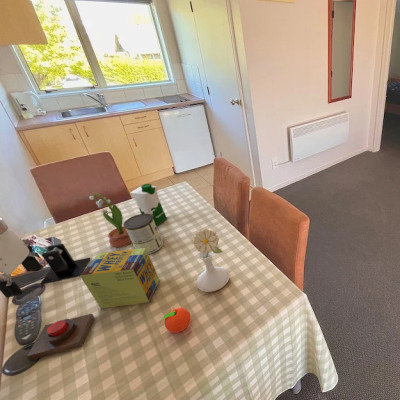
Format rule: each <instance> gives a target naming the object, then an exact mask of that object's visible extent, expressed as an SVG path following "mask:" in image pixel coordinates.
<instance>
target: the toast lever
mask: <svg viewBox="0 0 400 400" xmlns="http://www.w3.org/2000/svg"><path fill="white" fill-rule="evenodd" d="M56 250H58V251H59V253H60V254H61V252H62V251H63V250H61V249H59V248H57V247H55V248H54V249H53V250H51V251H56ZM51 251H49V252H51ZM38 262H39V263H40V265H41V266H42V267H43V265H44V264H46V263H47V262H46V260H45V259H44V258H43V259H42V260H40V261H38ZM40 270H41V269H38V270H33V271H32V272H38V271H40Z"/></svg>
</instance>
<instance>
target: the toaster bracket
mask: <svg viewBox="0 0 400 400" xmlns="http://www.w3.org/2000/svg"><path fill="white" fill-rule="evenodd" d="M55 247H57V248H59V249H61V250H63V251H62V252H61V254H60V253H59V251H58V250H56V251H51V250H53V249H54V248H55ZM47 250H48V251H45V252H42V253H41V256H42V257H43V259H45V260H46V262H45V263H47V264H48V266H49V267H50V269H51V270H50V269H49V271H48V272H47V273H46V274H45V276H44V277H43V279H42V281H41V282H40V285H45V284H49V283H54V282H59V281H63V280H69V279H72V278H77V277H80V275H81V274H82V272H83V271H84V270H85V269H86V268H87V267H88V265H89V263H90V261H91V257H86V258H80V259H76V260H74V258H73V256H72V255H71V253H70V252H69V251H68V249H67V247H66V246H65V245H64V243H58V244H52V245H48V246H47ZM50 251H51V252H50Z"/></svg>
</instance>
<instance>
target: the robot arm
mask: <svg viewBox="0 0 400 400" xmlns="http://www.w3.org/2000/svg"><path fill="white" fill-rule="evenodd" d="M39 262H40V261H38V259H37V257H36V254H35V252H33V246H32V245H31V242H30V239H29V238H25V239H22V238H21V237H19V235H18V234H17V232H15V231H14V230H13V229H12V228H10V227H9V226H8V225H7V224H6V222H5V221H4V219H3V218H2V217H1V216H0V278H4V279H3V280H4V281H3V280H0V292H1V293H2V294H3V295H4V296H5V298H12V297H17V296H20V295H23V293H24V292H23V290H22V289H21V287H20V286H19V285H18V284H17V283H16V282H15V281H13V282H12V274H13V273H14V272H15V271H16V270H17V269H18V268H19V266H20V265H22V266H23V267H24V269H25V270H26V272H34V271H33V270H38V269H40V270H41V269H43V265H42V266H41V265H40V263H39Z"/></svg>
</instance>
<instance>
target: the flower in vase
mask: <svg viewBox="0 0 400 400" xmlns="http://www.w3.org/2000/svg"><path fill="white" fill-rule="evenodd" d="M219 241H220V238H219V236H218V234H217V232H215V231H214V230H211V229H208V228H204V229H202V230H199V231H198V232H195V235H194V236H193V240H192V244H193V245H194V248H195V250H196V251H197V252H198V254H197V258H198V259H200V260H202V261H203V263H204V266H205V268H206V269H205V270H203V271H201V273H200V274H199V275H198V276H197V279H196V287H197V289H198V290H199V291H201V292H205V293H213V292H215V291H216V292H217V291H218V290H220V289H222V288H223V287H225V286H226V285H227V283H228V281H229V280H230V277H231V276H230V275H231V274H230V271H229V270H228V269H227V268H225V267H223V266H214V265H213V260H212V258H213V255H214V254H221V253H223V250H222V249H221V248H219V247H218V245H219Z"/></svg>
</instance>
